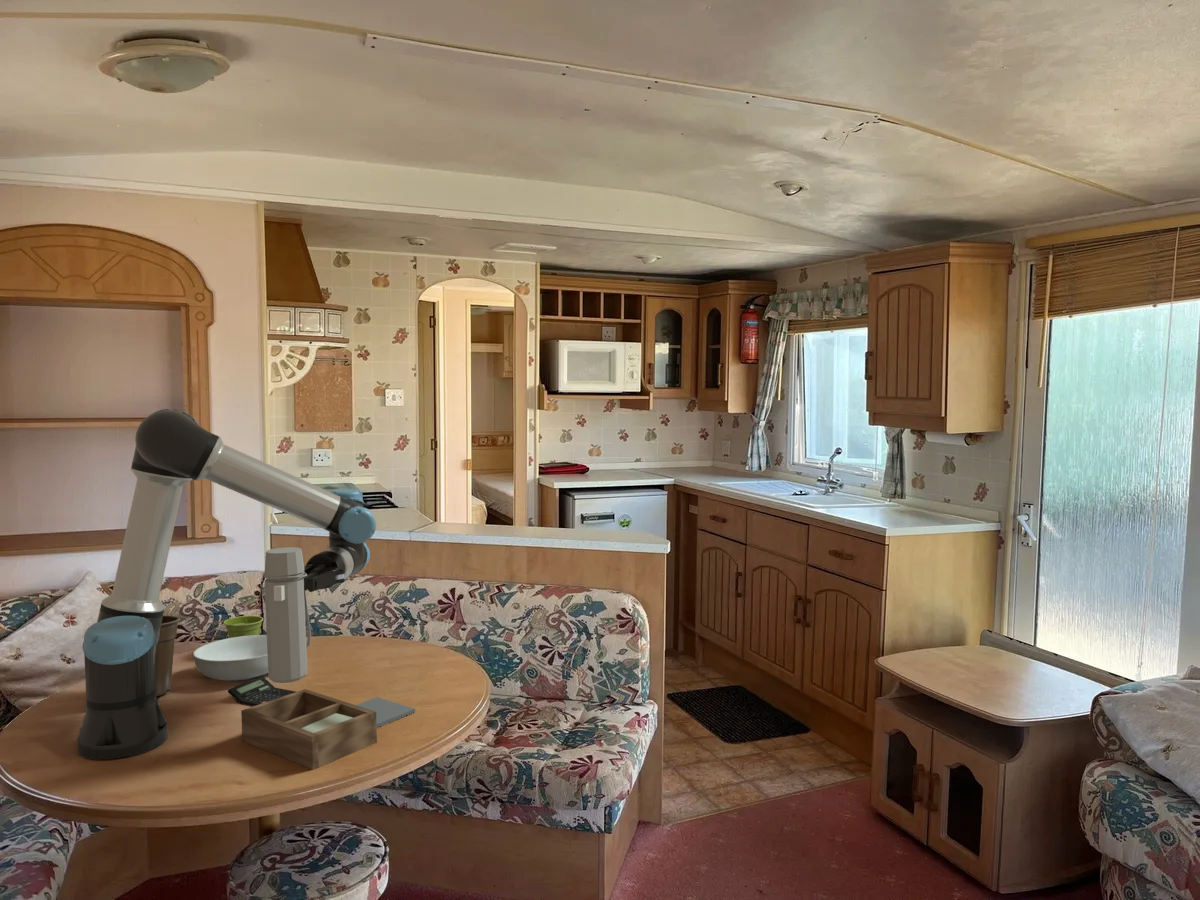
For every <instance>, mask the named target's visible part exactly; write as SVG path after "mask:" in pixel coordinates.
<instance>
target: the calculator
mask: <svg viewBox="0 0 1200 900" xmlns="http://www.w3.org/2000/svg"><path fill="white" fill-rule="evenodd" d="M295 692H297V691H295V690H290V689H284V688H281V687H275V686H274V685H273V684H272V683H271V682H269V680H268V679H267V678H265V677H264V675H261V676H258V677H256V678H252V679H249V680H247V681H246V682H242V683H240V684H238V685H236V686H233V687H230V688H228V689H227V693H228V694H229V695H230V696H231V697H233V699H234V700H236V702H238V703H239V704H242V705H246V706H250V707H253V706H256V705H259V704H262V703H265V702H268V701H271V700H274V699H277V698H280V697H283V696H286V695H289V694H292V693H295Z"/></svg>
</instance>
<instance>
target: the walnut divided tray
mask: <svg viewBox="0 0 1200 900" xmlns="http://www.w3.org/2000/svg"><path fill="white" fill-rule="evenodd" d="M356 705H357V704H353V703H350V702H348V701H347V702H346V701H343V700H341V699H337V698H336V697H335V698H334V697H332V696H328V695H325V694H321V693H319V692H316V691H314V690H313V691H312V690H309V689H306V688H304V689H302V690H298V691H296V692H295V693H292V694H289V695H286V696H283V697H280V698H277V699H274V700H271V701H268V702H265V703H262V704H259V705H256V706H250V707H247V708H245V709H242V710H241V711H240V712H241V740H242V742H244V743H246V742H247V743H246V744H249V745H251V744H252V746H254V747H256V746H257V747H256V748H259V749H262V750H264V751H267V752H269V753H271V754H273V755H276V756H279V757H281V758H284V759H286V760H288V761H291V762H293V763H296V764H298V765H301V766H302V767H306V768H308V769H311V770H313V771H314V770H315V769H318V768H321V767H322V766H325V765H327V764H330V763H333V762H335V761H337V760H339V759H341V758H344V757H346V756H348V755H351V754H353V753H355V752H358V751H360V750H362V749H364V748H367V747H369V746H373V745H374V744H377V743H378V736H377V735H378V734H377V733H378V731H377V730H378V728H377V723H376V712H375V711H372V710H369V709H366V708H363V707H359V706H356ZM335 713H337V714H341V715H345V716H349V717H353V718H352V719H349V720H346V721H344V722H341V723H339V724H336V725H334V726H331V727H328V728H326V729H323V730H321V731H318V732H315V733H312V732H309V731H306V730H304V729H301V728H303V727H306V726H308V725H310V724H312V723H315V722H317V721H319V720H322V719H324V718H326V717H328V716H331V715H333V714H335Z"/></svg>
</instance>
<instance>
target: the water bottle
mask: <svg viewBox="0 0 1200 900" xmlns="http://www.w3.org/2000/svg"><path fill="white" fill-rule="evenodd" d="M302 550H303V548H300V547H292V546H291V547H275V548H271V549H268V550H266V552H265V557H264V558H265V561H264V573H263V574H262V576H263V578H264V582H263V583H264V597H265V598H264V600H265V601H264V603H265V620H266V621H265V625H266V626H265V627H266V635H267V654H268V673H267V674H268V679H269V680H270V681H272V682H274V683H276V684H277V683H279V684H284V683H286V684H287V683H293V682H298V681H300V680H301V679H304V678H306V676H307V675H308V660H307V656H308V655H307V648H309V647H311V641H312V639H311V638H312V632H311V630H312V629H311V625H310V618H309V610H308V603H307V602H308V601H307V595H306V594H307V593H306V591H304V577H305V576H307V574H306V573H305V572H304V567H305V565H304V557H303V551H302ZM301 575H303V576H301ZM276 585H285V599H284V600H283V601H274V586H276ZM306 628H307V631H306ZM306 634H307V635H306Z"/></svg>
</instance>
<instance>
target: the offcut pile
mask: <svg viewBox="0 0 1200 900" xmlns="http://www.w3.org/2000/svg"><path fill="white" fill-rule="evenodd" d="M352 718H353V717H349V716H345V715H341V714H337V713H335V714H333V715H331V716H328V717H326V718H324V719H322V720H319V721H317V722H315V723H312V724H310V725H308V726H306V727H303V728H301V729H304V730H306V731H309V732H312V733H315V732H318V731H321V730H323V729H326V728H328V727H331V726H334V725H336V724H339V723H341V722H344V721H346V720H349V719H352Z"/></svg>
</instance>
